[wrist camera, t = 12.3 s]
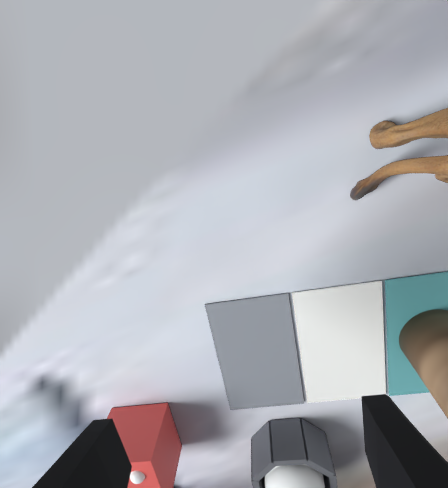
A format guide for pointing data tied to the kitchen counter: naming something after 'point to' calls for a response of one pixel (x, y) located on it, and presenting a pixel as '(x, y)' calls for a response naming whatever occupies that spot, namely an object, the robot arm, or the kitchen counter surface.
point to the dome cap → (294, 477)
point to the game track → (321, 342)
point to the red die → (149, 444)
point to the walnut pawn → (429, 351)
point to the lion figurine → (394, 135)
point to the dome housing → (290, 450)
